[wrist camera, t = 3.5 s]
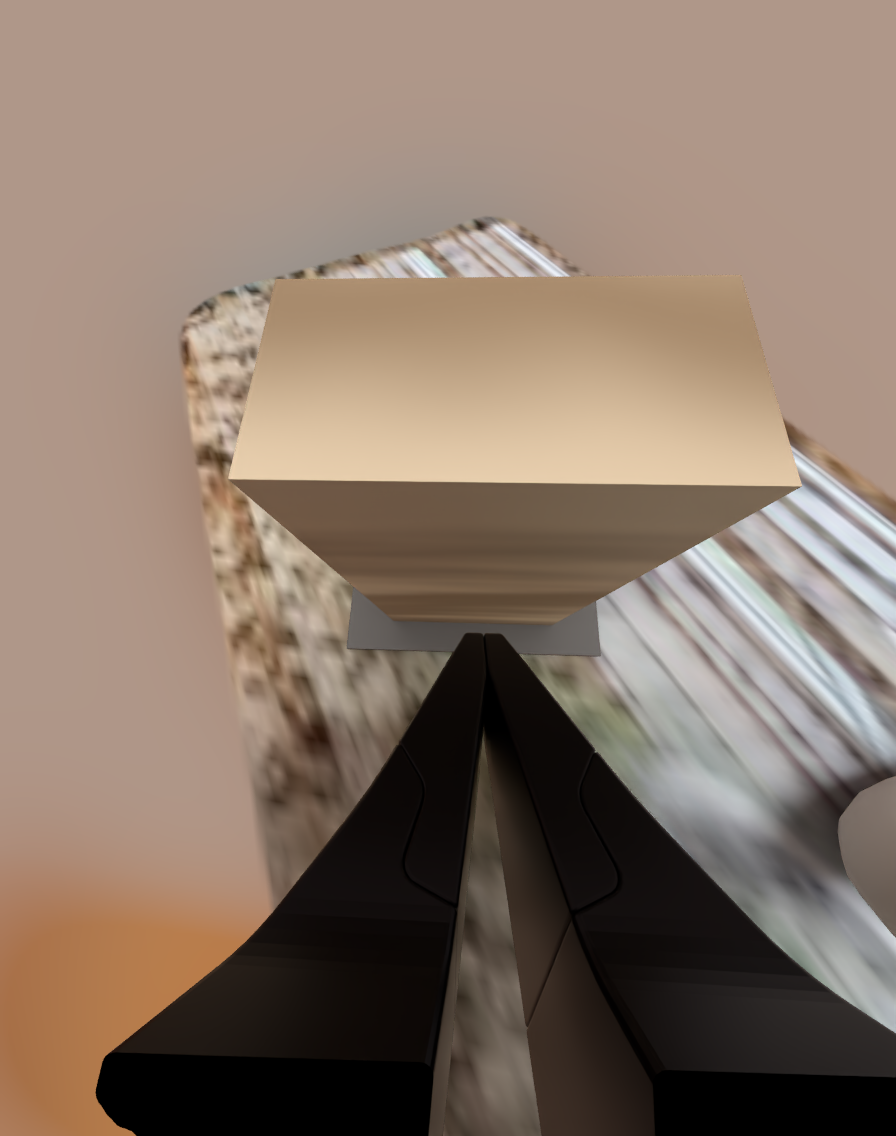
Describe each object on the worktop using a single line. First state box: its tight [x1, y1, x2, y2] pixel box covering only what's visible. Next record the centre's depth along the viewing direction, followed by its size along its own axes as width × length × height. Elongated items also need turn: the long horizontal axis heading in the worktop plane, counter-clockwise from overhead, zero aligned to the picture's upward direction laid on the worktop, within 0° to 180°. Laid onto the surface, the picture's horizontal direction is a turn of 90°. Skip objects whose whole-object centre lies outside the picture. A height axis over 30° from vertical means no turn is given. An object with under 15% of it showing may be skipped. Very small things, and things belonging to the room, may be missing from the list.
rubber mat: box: [347, 586, 601, 656], centre depth 18 cm, size 16×11×1 cm
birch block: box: [228, 275, 802, 625], centre depth 11 cm, size 4×7×12 cm, turn 88°
